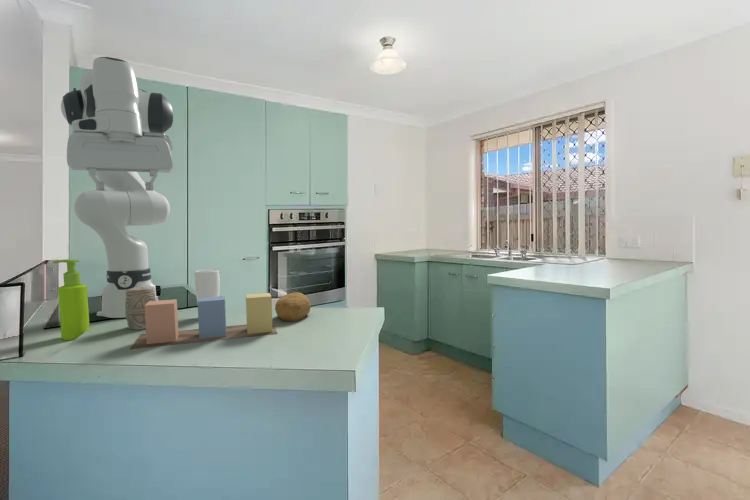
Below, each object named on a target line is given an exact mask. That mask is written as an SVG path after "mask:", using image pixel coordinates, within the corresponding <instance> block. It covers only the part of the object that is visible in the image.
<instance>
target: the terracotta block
mask: <svg viewBox="0 0 750 500" xmlns="http://www.w3.org/2000/svg"><path fill="white" fill-rule="evenodd" d="M145 321H146V329H145V334H146V339H147V344H154V343H164V342H174V341H176V340H177V338H178V336H179V335H178V331H179V317H178V300H177V299H175V298H174V299H161V300H160V301H149V302H148V303H147V304H146V305H145Z"/></svg>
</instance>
